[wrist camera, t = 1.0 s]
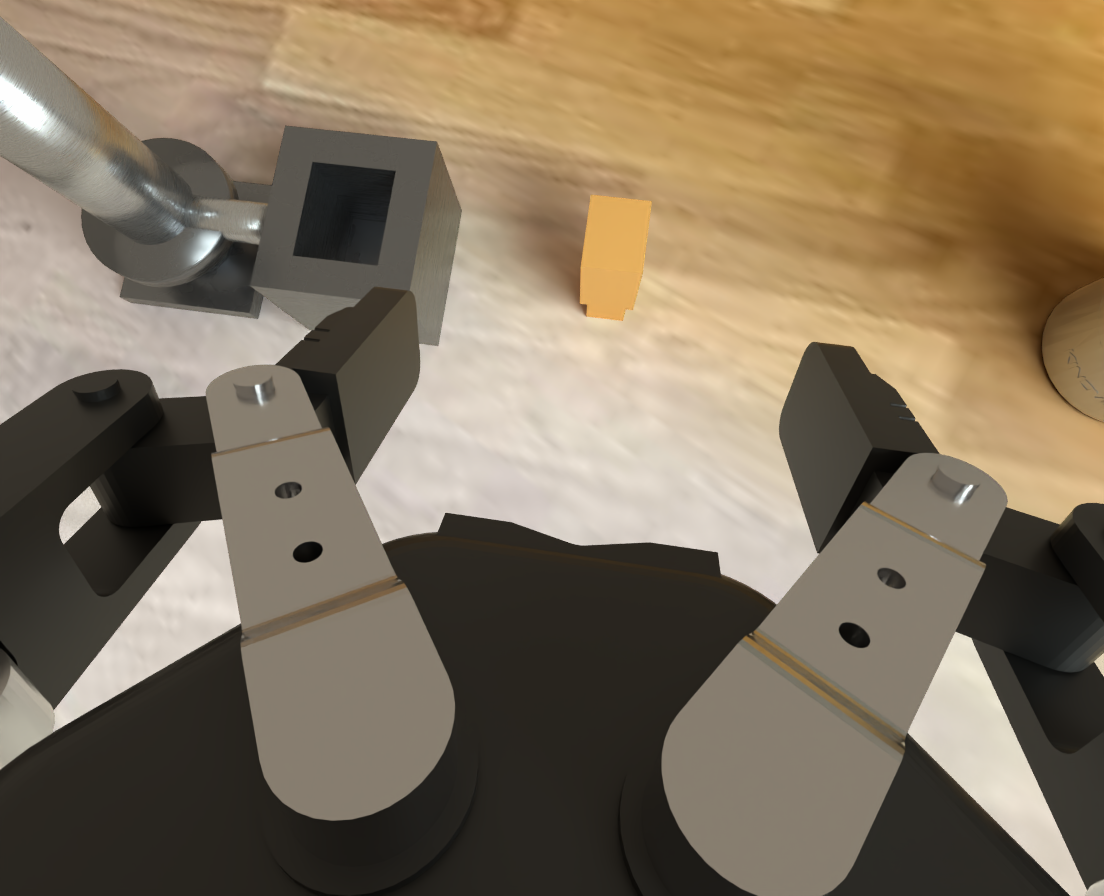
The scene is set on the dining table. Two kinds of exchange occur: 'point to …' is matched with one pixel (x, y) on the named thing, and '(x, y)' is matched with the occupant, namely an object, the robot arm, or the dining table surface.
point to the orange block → (613, 255)
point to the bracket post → (236, 207)
